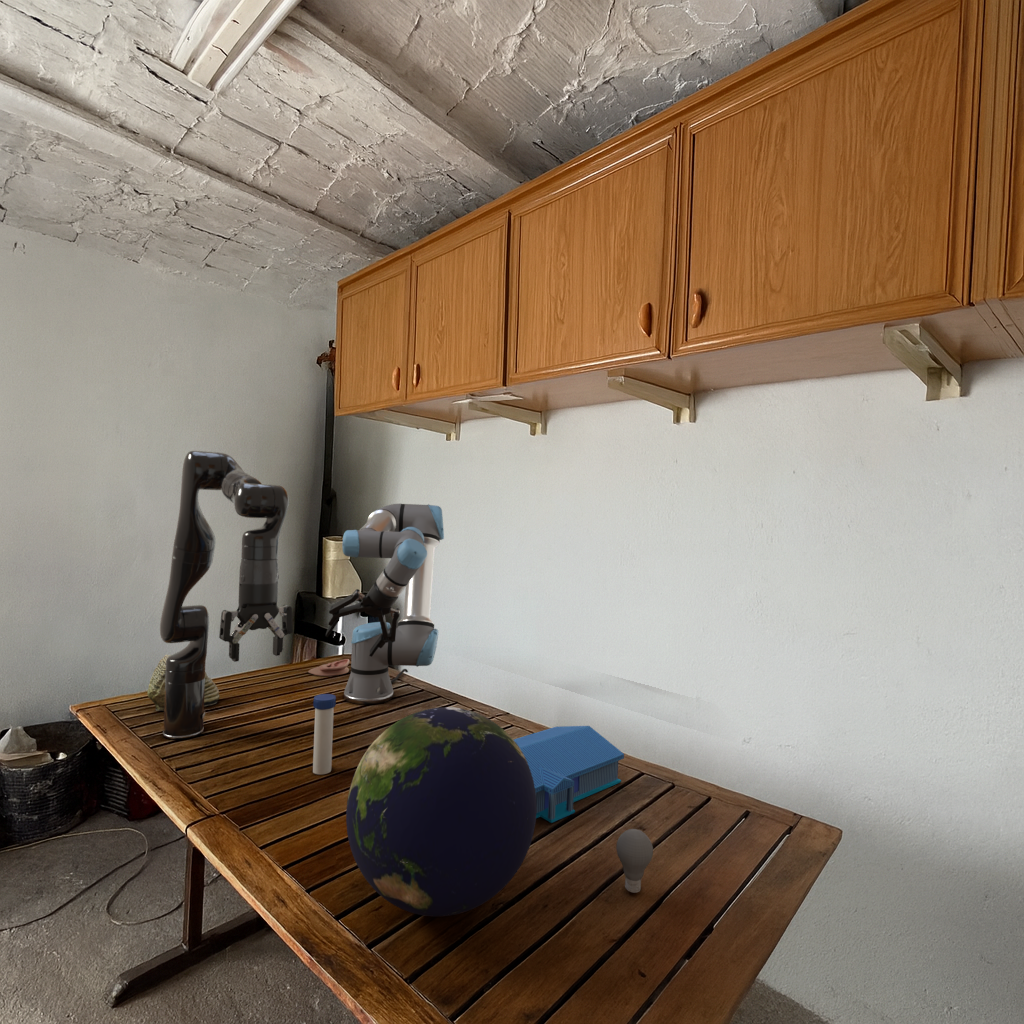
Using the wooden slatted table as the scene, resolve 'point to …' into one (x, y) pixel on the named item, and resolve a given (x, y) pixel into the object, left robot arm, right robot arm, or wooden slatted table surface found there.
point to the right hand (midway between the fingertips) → (349, 643)
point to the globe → (441, 811)
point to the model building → (568, 767)
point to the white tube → (323, 741)
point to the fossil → (158, 687)
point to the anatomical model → (331, 668)
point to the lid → (324, 701)
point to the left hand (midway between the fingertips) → (256, 657)
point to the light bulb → (634, 857)
